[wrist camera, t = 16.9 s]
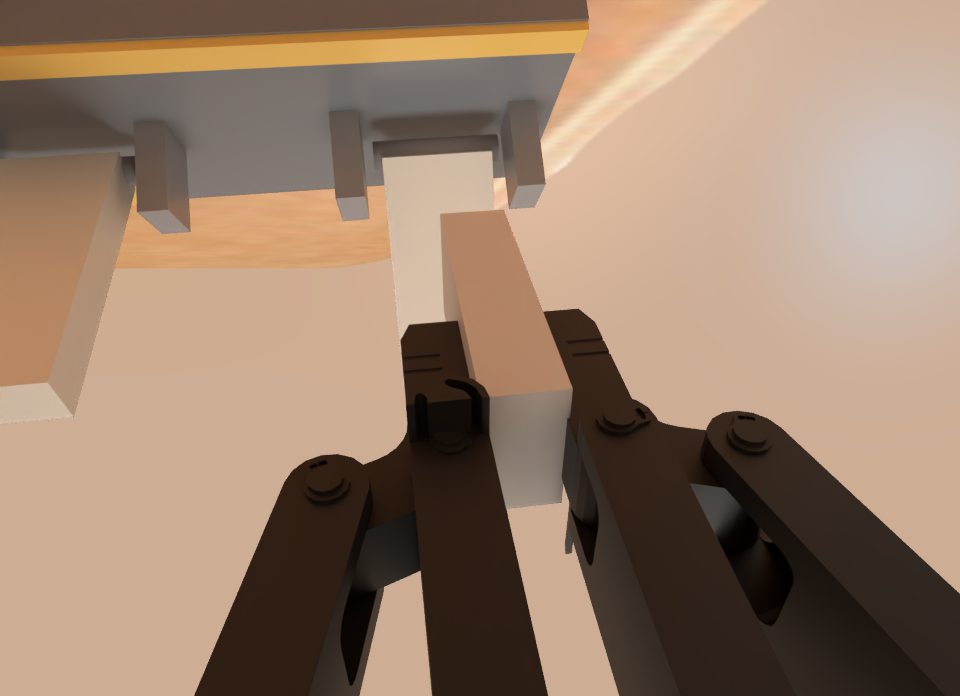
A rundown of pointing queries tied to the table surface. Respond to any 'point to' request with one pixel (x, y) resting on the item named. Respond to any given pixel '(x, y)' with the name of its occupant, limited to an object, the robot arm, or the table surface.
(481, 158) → the paddle
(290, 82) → the switch unit
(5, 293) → the paddle
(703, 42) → the table surface
